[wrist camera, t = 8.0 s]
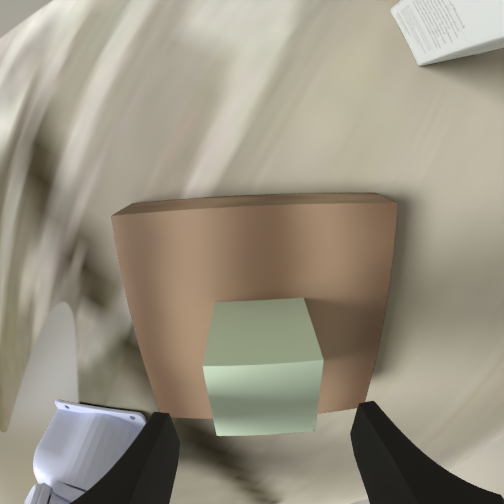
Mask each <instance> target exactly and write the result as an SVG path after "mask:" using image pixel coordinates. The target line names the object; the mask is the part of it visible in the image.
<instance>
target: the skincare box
mask: <svg viewBox="0 0 504 504" xmlns="http://www.w3.org/2000/svg"><path fill="white" fill-rule="evenodd" d="M391 14H392V15H393V17H394V19H395V20H396V22H397V24H398V26H399V28H400V29H401V31H402V33H403V35H404V37H405V39H406V41H407V43H408V45H409V47H410V49H411V51H412V53H413V55H414V58H415V60H416V62H417V64H418V65H419V66H423V65H427V64H432V63H436V62H441V61H446V60H451V59H455V58H460V57H465V56H470V55H475V54H480V53H484V52H488V51H492V50H496V49H500V48H504V0H401V1H400V2H399V3H397V4H396V5H395V6H394V7H393V8H391Z"/></svg>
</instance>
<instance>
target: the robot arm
mask: <svg viewBox="0 0 504 504" xmlns="http://www.w3.org/2000/svg"><path fill="white" fill-rule="evenodd" d="M55 404H56V406H57V408H58V410H57V412H56V414H55V415H54V417H53V419H52V420H51V422H50V424H49V426H48V428H47V429H46V431H45V433H44V435H43V437H42V439H41V441H40V442H39V444H38V446H37V448H36V451H35V454H34V461H33V467H34V473H35V476H36V478H37V480H38V482H39V484H35V485H34V486H33V488H32V490H31V491H30V493H29V495H28V496H27V498H26V500H25V502H24V504H169V502H170V498H171V493H172V489H173V484H174V480H175V475H176V471H177V466H178V457H179V445H180V442H179V439H178V437H177V434H176V431H175V428H174V426H173V423H172V420H171V417H170V414H169V413H161V412H154V413H152V415H151V416H150V418H149V419H148V421H146V419H145V417H144V415H143V414H142V413H140V412H133V411H124V410H117V409H109V408H102V407H96V406H90V405H84V404H79V403H73V402H68V401H63V400H56V402H55ZM350 435H351V441H352V446H353V451H354V456H355V459H356V462H357V465H358V468H359V471H360V474H361V477H362V480H363V483H364V486H365V489H366V492H367V495H368V498H369V502H370V504H504V499H503V498H502V496H501V495H499V494H496V493H493V492H490V491H487V490H484V489H482V488H479V487H477V486H474V485H472V484H470V483H468V482H466V481H464V480H462V479H461V478H459V477H457V476H455V475H453V474H452V473H450V472H449V471H447V470H446V469H444V468H443V467H441V466H440V465H438V464H437V463H436V462H434V461H433V460H432V459H430V458H429V457H428V456H427V455H425V454H424V453H423V452H422V451H421V450H420V449H419V448H418V447H416V446H415V445H414V444H413V443H412V442H411V441H410V440H409V439H408V438H407V437H406V436H405V435H404V434H403V433H402V432H401V431H400V430H399V429H398V428H397V427H396V426H395V424H394V423H393V422H392V421H391V420H390V419H389V418H388V417H387V415H386V414H385V413H384V412H383V411H382V410H381V409H380V407H379V406H378V405H377V404H376V403H375V402H374V401H370V402H364V403H359V405H358V408H357V412H356V416H355V419H354V423H353V426H352V430H351V433H350Z"/></svg>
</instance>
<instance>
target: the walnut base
mask: <svg viewBox="0 0 504 504" xmlns="http://www.w3.org/2000/svg"><path fill="white" fill-rule="evenodd" d="M397 207H398V203H396V202H394V201H392V200H390V199H388V198H385V197H383V196H381V195H379V194H377V193H299V194H267V195H244V196H225V197H208V198H193V199H180V200H167V201H155V202H144V203H134V204H130V205H129V206H127V207H125V208H124V209H122V210H120V211H119V212H117V213H115V214H114V215H112V216H111V218H112V225H113V231H114V237H115V243H116V248H117V254H118V259H119V264H120V269H121V274H122V279H123V284H124V288H125V293H126V297H127V301H128V306H129V310H130V314H131V318H132V322H133V326H134V329H135V333H136V337H137V340H138V344H139V347H140V351H141V354H142V358H143V361H144V364H145V368H146V371H147V374H148V377H149V380H150V383H151V386H152V389H153V392H154V395H155V398H156V401H157V404H158V407H159V410H160V412H161V413H169V414H170V417H176V418H199V419H213V416H212V411H211V407H210V402H209V397H208V392H207V387H206V382H205V377H204V372H203V360H204V355H205V350H206V344H207V339H208V333H209V328H210V323H211V318H212V313H213V307H214V302H231V301H254V300H273V299H290V298H304V301H305V304H306V307H307V310H308V313H309V316H310V319H311V322H312V325H313V328H314V331H315V334H316V337H317V340H318V344H319V347H320V350H321V353H322V356H323V359H324V361H323V370H322V379H321V387H320V395H319V403H318V410H317V414H318V413H326V412H334V411H341V410H348V409H354V408H358V405H359V403H364V402H365V400H366V396H367V392H368V389H369V385H370V381H371V377H372V373H373V369H374V364H375V360H376V355H377V351H378V346H379V341H380V337H381V332H382V326H383V321H384V315H385V310H386V304H387V298H388V291H389V284H390V277H391V270H392V262H393V253H394V244H395V233H396V221H397Z"/></svg>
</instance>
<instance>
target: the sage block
mask: <svg viewBox="0 0 504 504" xmlns="http://www.w3.org/2000/svg"><path fill="white" fill-rule="evenodd" d="M323 361H324V359H323V356H322V353H321V350H320V347H319V344H318V340H317V337H316V334H315V331H314V328H313V325H312V322H311V319H310V316H309V313H308V310H307V307H306V304H305V301H304V298H290V299H273V300H254V301H231V302H214V307H213V313H212V318H211V323H210V328H209V333H208V339H207V344H206V350H205V355H204V360H203V372H204V377H205V382H206V387H207V392H208V397H209V402H210V407H211V411H212V416H213V421H214V425H215V430H216V434H217V436H249V435H271V434H285V433H297V432H307V431H315V424H316V417H317V410H318V403H319V395H320V387H321V379H322V370H323Z"/></svg>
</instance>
